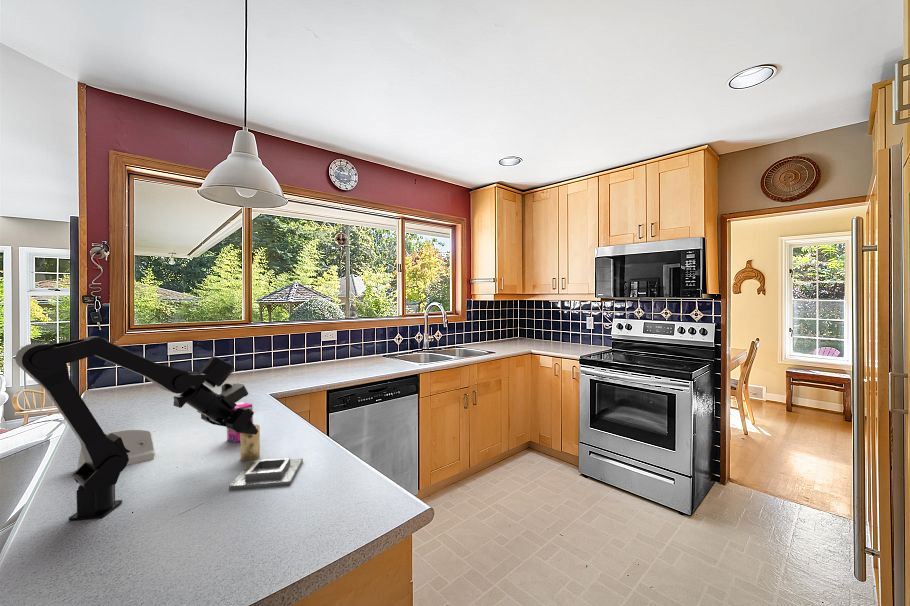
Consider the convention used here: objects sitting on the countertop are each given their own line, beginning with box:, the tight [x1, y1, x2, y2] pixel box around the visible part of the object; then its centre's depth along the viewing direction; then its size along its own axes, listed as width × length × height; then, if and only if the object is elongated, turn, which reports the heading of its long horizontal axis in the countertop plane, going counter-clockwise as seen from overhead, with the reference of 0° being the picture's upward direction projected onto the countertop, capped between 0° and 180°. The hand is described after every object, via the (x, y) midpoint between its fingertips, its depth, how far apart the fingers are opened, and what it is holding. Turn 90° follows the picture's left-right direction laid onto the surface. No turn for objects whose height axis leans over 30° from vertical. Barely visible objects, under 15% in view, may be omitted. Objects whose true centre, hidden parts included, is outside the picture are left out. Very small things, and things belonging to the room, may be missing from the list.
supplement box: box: [226, 401, 254, 444], centre depth 128 cm, size 6×6×12 cm
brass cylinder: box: [239, 423, 261, 462], centre depth 113 cm, size 5×5×9 cm
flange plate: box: [228, 457, 304, 491], centre depth 101 cm, size 14×14×2 cm
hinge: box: [76, 429, 156, 471], centre depth 110 cm, size 17×5×10 cm, turn 130°
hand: (248, 430), depth 112 cm, fingers open, 9 cm apart
